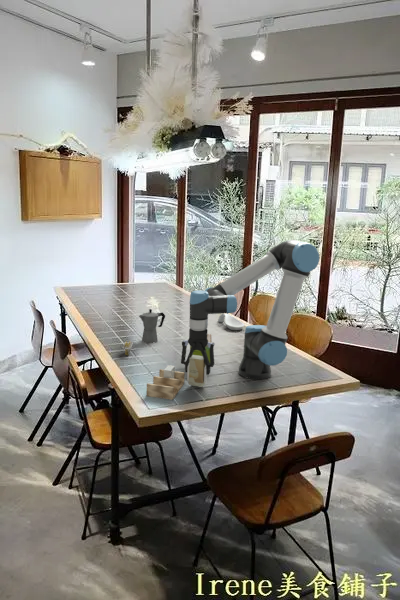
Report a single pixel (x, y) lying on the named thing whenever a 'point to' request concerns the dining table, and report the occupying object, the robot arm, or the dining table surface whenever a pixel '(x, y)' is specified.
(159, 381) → the oak rack
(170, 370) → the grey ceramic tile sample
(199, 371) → the skincare box
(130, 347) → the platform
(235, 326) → the spoon rest
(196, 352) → the tea box
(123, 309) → the dining table surface
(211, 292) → the robot arm
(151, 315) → the coffeepot
